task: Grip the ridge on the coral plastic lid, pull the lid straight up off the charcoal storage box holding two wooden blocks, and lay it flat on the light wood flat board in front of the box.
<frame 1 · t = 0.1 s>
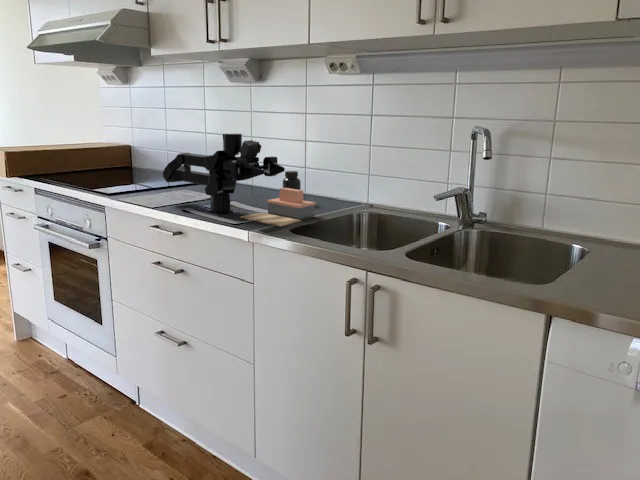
hand: (274, 170, 171), 17 cm above the countertop, tool horizontal, fingers open, 9 cm apart
lid: (291, 203, 187), point 4 cm above the countertop, touching storage box
storage box: (291, 215, 188), on the countertop
supplement bottle: (291, 203, 210), on the countertop
light wood flat board: (270, 219, 180), on the countertop
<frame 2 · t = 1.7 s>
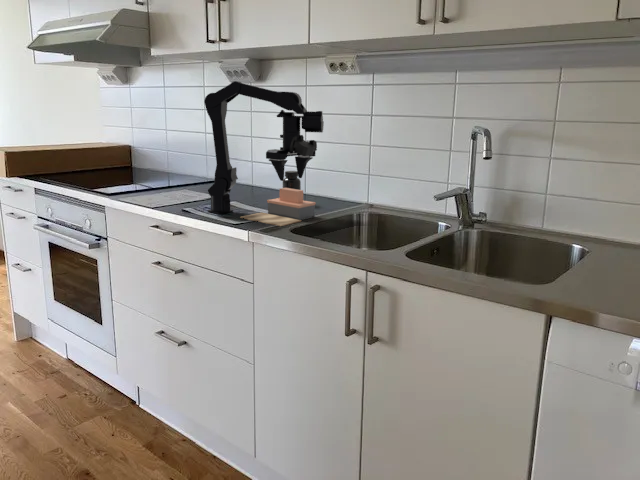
hand: (291, 179, 185), 12 cm above the countertop, tool pointing down, fingers open, 9 cm apart
nothing on the countertop moved.
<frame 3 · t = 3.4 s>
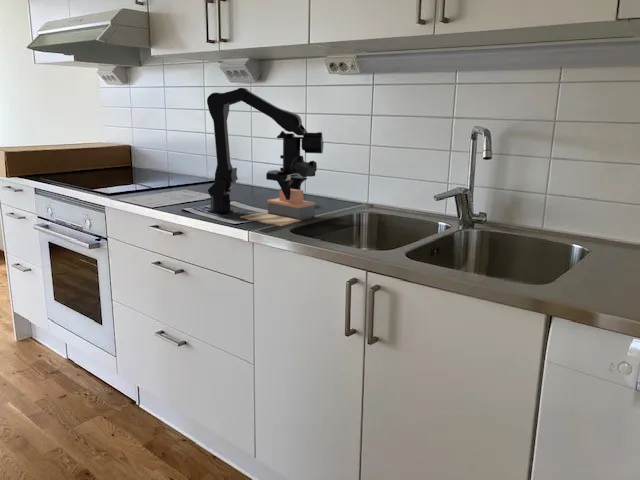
hand: (291, 199, 187), 6 cm above the countertop, tool pointing down, fingers closed on lid, 3 cm apart
lid: (291, 203, 187), point 4 cm above the countertop, touching gripper, storage box
everything else where it was.
when the fingers open (4 cm above the countertop, at t = 8.1 s): lid drops 1 cm, resting on light wood flat board.
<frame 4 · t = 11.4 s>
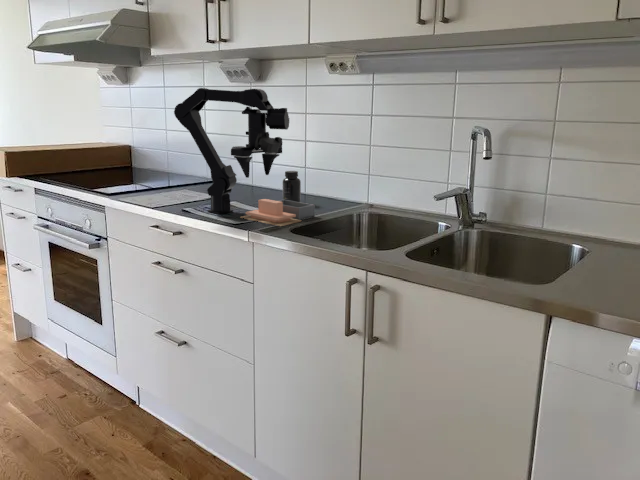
hand: (257, 176, 185), 13 cm above the countertop, tool pointing down, fingers open, 9 cm apart
lid: (270, 215, 180), point 1 cm above the countertop, touching light wood flat board
everything else where it was.
at the end: lid 0.1 cm off-centre on the light wood flat board, point 1.4 cm above the light wood flat board's base; lid tilted 0°; the gripper is holding nothing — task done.
